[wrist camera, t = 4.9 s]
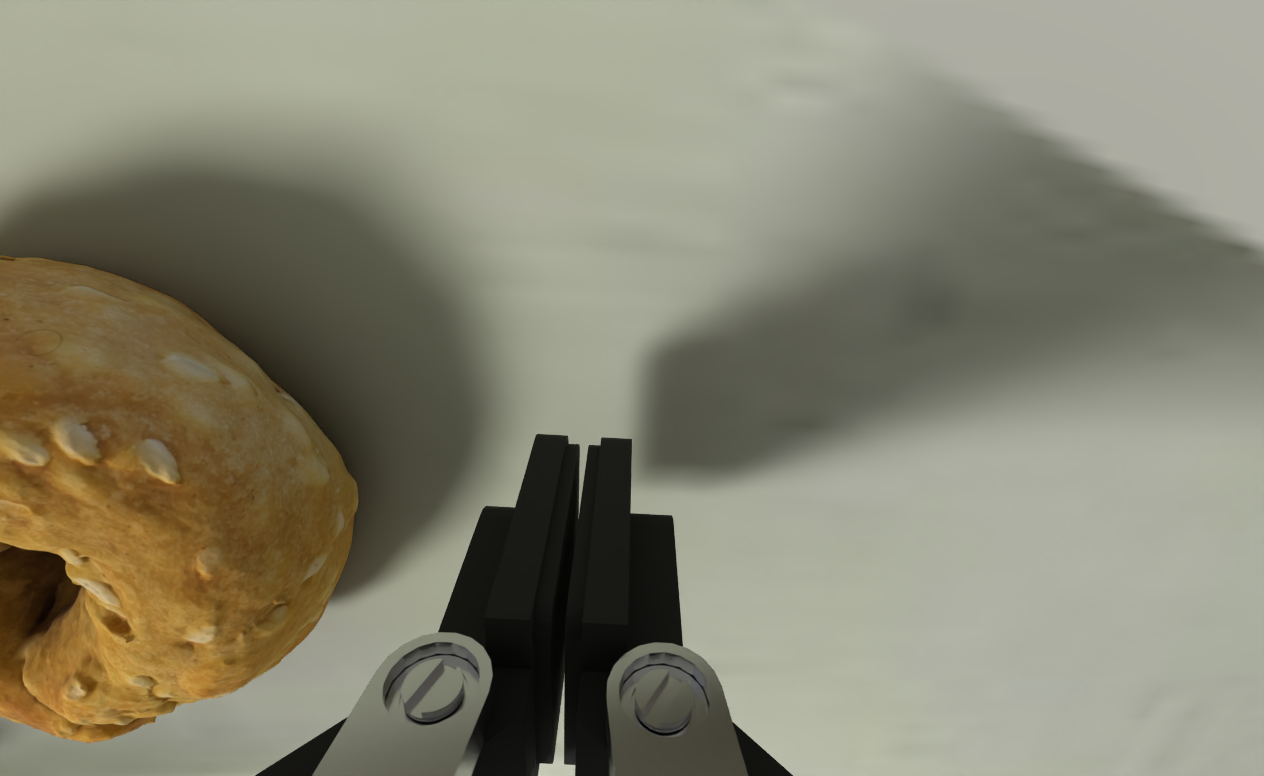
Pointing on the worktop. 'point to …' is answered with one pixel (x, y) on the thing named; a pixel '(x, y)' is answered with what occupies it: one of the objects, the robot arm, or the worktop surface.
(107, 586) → the bagel
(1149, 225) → the worktop surface
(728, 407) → the worktop surface
